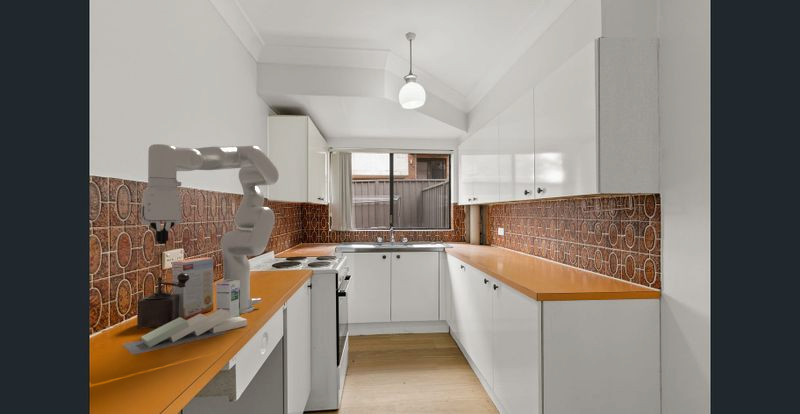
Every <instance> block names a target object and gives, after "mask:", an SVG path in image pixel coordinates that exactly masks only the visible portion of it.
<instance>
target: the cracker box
mask: <svg viewBox="0 0 800 414" xmlns="http://www.w3.org/2000/svg"><path fill="white" fill-rule="evenodd" d="M171 265H172V266H171V267H172V269H171V271H172V272H171V275H172V277H171V279H172V280H171V283H175V284H178V279H177V276H178V275H179V274H181V273H186V274H188V275H189V280H188V281H187V282H186V283H185V285H186V286H185V287H182V288H180V287H177V286H171V288H172V292H171V294H179V317H181V318H183V319H185V320H187V319H190V318H192V317H194V316H196V315H198V314H200V313H201V314H205V313H208V312H212V311H214V258H213V257H197V258H189V259H182V260H177V261H176V260H175V261H172V262H171Z"/></svg>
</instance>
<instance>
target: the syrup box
mask: <svg viewBox="0 0 800 414" xmlns="http://www.w3.org/2000/svg"><path fill="white" fill-rule="evenodd" d="M215 287H216V288H215V291H216V292H215V294H216V295H215V297H216V300H215V302H216V303H215V304H216V306H215V307H216V311H217V310H219V309H223V310H226V311H228V312H229V314H230V316H231V317H230V318H234V317H241V314H240V280H237V279H226V280H224V281H223V280H220V281H217V282H216V284H215ZM216 311H215V312H216ZM228 319H229V318H228Z"/></svg>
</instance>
